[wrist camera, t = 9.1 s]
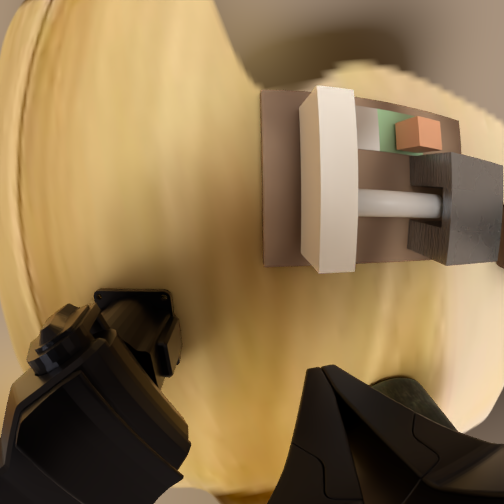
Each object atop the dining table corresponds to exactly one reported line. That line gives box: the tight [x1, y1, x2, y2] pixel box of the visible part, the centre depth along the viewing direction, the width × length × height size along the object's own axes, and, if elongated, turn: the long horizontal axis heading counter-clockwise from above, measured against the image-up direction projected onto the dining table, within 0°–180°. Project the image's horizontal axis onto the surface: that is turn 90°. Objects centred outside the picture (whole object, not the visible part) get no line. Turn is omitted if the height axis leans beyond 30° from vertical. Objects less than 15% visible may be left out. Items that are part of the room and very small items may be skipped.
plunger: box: [299, 85, 443, 274], centre depth 15 cm, size 9×10×4 cm
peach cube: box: [395, 116, 442, 153], centre depth 16 cm, size 2×2×3 cm
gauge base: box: [260, 90, 461, 267], centre depth 19 cm, size 17×12×1 cm
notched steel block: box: [407, 152, 503, 266], centre depth 16 cm, size 6×7×5 cm
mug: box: [371, 378, 458, 432], centre depth 19 cm, size 11×15×12 cm
